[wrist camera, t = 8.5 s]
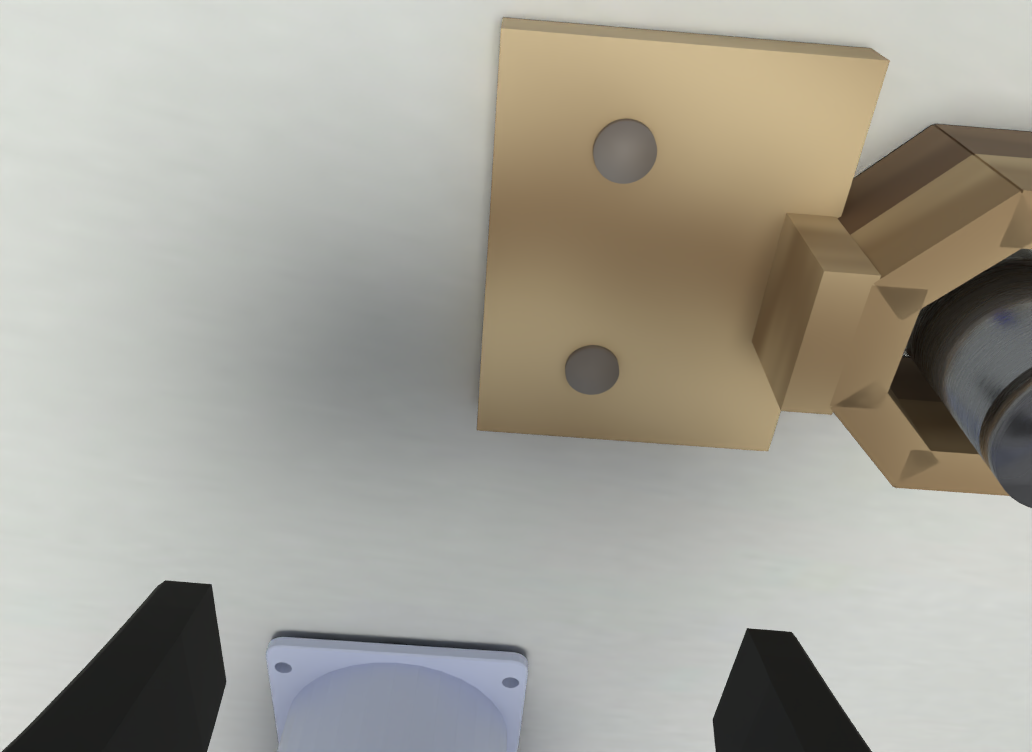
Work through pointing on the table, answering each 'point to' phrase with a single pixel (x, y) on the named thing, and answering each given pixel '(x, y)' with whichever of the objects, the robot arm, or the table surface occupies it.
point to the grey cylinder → (985, 365)
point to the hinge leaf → (718, 248)
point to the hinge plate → (908, 175)
